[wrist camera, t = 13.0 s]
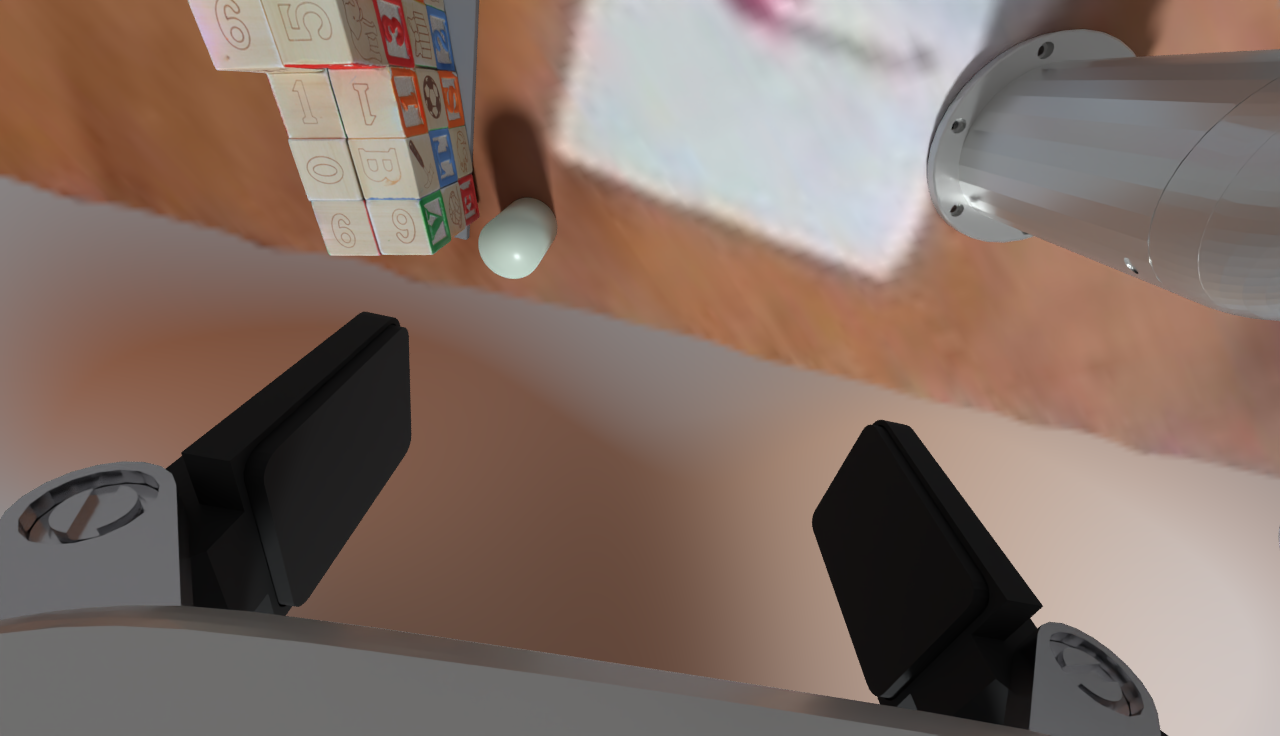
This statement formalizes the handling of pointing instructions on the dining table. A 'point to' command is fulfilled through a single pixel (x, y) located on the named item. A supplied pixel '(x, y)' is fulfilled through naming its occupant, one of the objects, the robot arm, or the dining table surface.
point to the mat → (464, 61)
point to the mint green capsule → (518, 238)
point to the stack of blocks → (360, 113)
